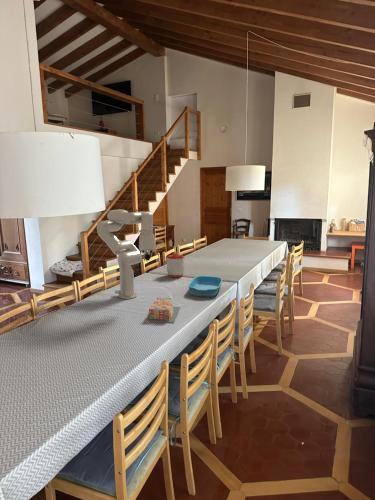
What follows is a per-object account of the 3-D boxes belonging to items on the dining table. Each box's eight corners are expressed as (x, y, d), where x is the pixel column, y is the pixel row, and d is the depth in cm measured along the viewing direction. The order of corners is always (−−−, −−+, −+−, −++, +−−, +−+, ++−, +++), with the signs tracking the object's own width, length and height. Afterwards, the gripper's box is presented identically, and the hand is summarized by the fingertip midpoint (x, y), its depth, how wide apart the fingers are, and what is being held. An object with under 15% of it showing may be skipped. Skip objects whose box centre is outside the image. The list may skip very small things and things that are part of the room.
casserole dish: (217, 300, 247) (217, 289, 245) (185, 297, 251) (185, 287, 250) (224, 285, 282) (224, 276, 280) (195, 283, 287) (196, 274, 285)
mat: (149, 321, 207) (149, 321, 207) (158, 306, 233) (158, 305, 233) (173, 323, 206) (173, 322, 206) (180, 307, 231) (180, 306, 231)
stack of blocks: (156, 297, 230) (175, 298, 228) (156, 306, 231) (175, 307, 229) (148, 309, 209) (169, 310, 207) (149, 319, 210) (169, 320, 208)
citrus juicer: (166, 273, 317) (166, 251, 313) (185, 274, 314) (185, 251, 311) (162, 278, 302) (162, 254, 298) (183, 278, 299) (183, 255, 295)
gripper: (134, 232, 228) (135, 261, 231) (157, 233, 226) (157, 261, 230) (137, 231, 235) (138, 258, 239) (159, 231, 233) (160, 259, 237)
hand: (147, 260), depth 234 cm, fingers closed
